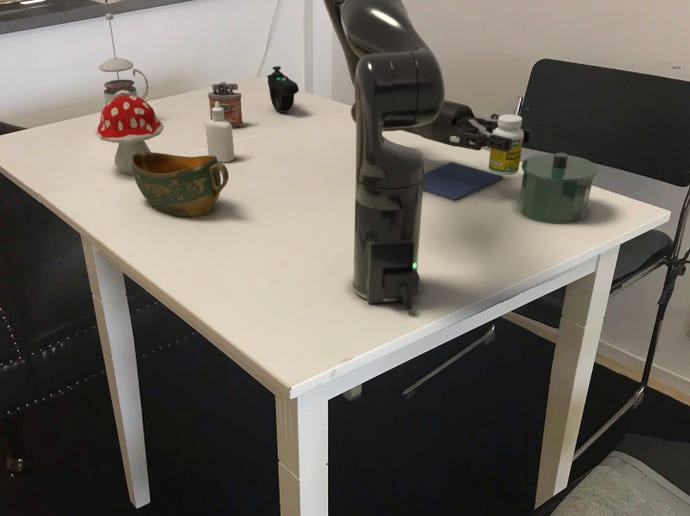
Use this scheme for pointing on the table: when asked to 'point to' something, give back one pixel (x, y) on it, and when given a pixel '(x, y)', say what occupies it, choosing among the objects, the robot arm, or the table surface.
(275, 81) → the controller
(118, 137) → the decorative mushroom
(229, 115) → the lighter
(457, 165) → the flat panel
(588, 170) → the pot lid
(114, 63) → the french press
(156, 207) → the cup
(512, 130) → the supplement bottle
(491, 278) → the table surface
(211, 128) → the eye dropper bottle
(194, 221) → the table surface
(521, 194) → the pot
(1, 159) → the table surface
